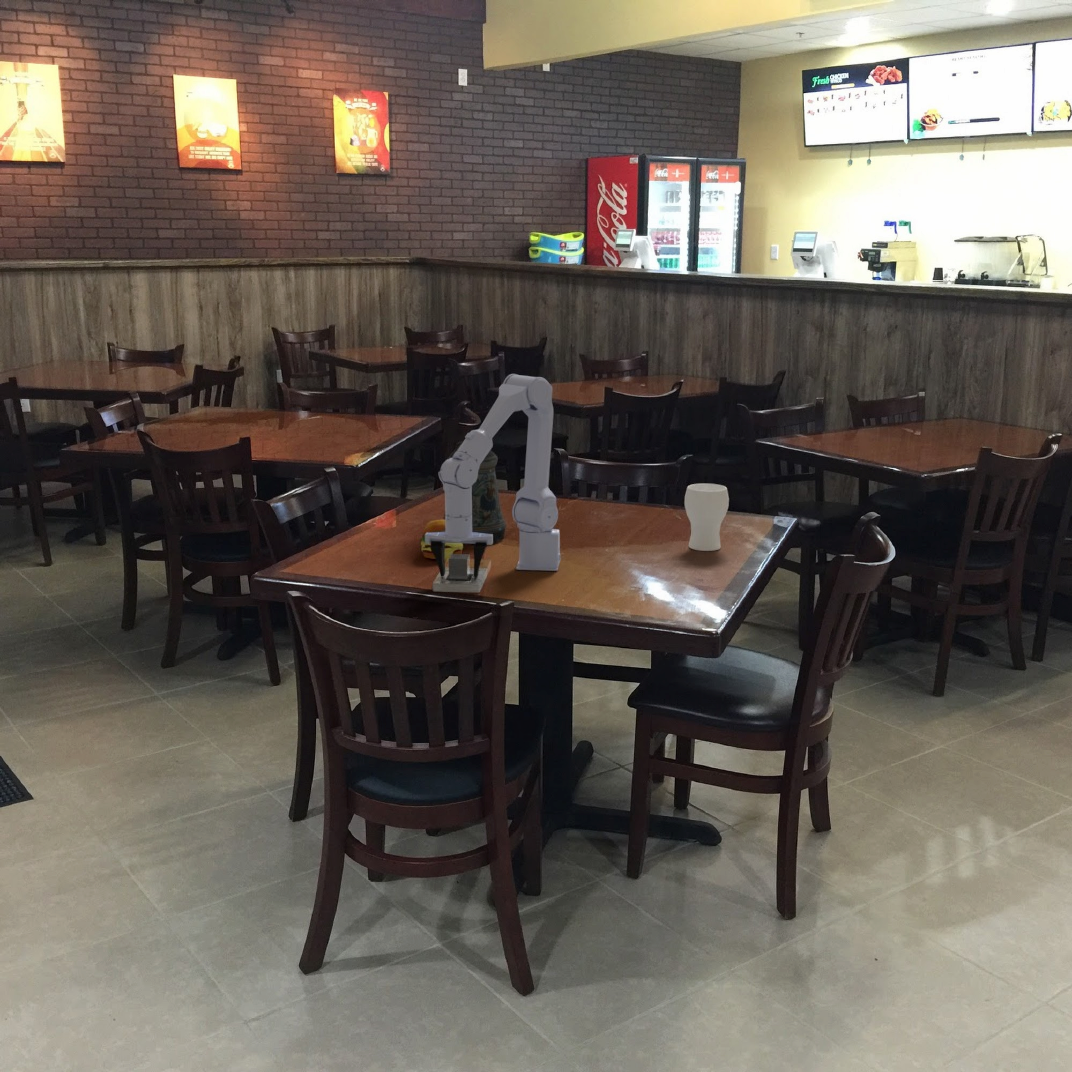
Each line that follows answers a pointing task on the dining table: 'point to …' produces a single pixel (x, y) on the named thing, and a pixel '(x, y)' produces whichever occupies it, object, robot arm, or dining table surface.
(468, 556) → the block
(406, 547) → the dining table surface
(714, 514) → the cup
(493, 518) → the beer stein
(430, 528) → the cheeseburger
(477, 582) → the grey flat rectangular block
